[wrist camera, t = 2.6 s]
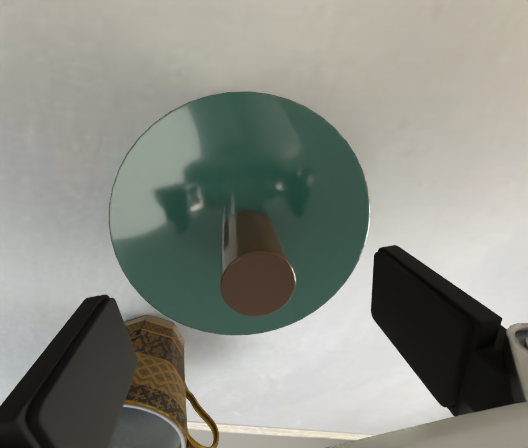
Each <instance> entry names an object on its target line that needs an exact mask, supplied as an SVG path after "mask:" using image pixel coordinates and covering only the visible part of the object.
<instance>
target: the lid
mask: <svg viewBox="0 0 528 448" xmlns="http://www.w3.org/2000/svg"><path fill="white" fill-rule="evenodd" d="M369 220H370V200H369V193H368V187H367V183H366V180H365V176H364V173H363V170H362V168H361V166H360V163H359V161H358V159H357V157H356V155H355V153H354V152H353V150H352V149H351V147H350V146H349V144H348V143H347V141H346V140H345V139H344V138H343V137H342V135H341V134H340V133H339V132H338V131H337V130H336V129H335V128H334V127H333V126H332V125H331V124H330V123H328V122H327V121H326V120H325V119H324V118H322V117H321V116H320V115H318V114H316V113H315V112H313V111H312V110H310V109H308V108H307V107H305V106H303V105H300V104H298V103H296V102H293V101H291V100H289V99H286V98H282V97H278V96H275V95H271V94H265V93H256V92H227V93H221V94H215V95H210V96H206V97H203V98H200V99H197V100H194V101H191V102H188V103H186V104H184V105H182V106H180V107H178V108H176V109H174V110H172V111H170V112H169V113H168V114H166V115H165V116H163V117H162V118H161V119H159V120H158V121H156V122H155V123H154V124H153V125H151V126H150V127H149V128H148V129H147V130H146V131H145V132H144V133H143V134H142V135H141V136H140V137H139V138H138V140H137V141H136V142H135V144H134V145H133V146H132V148H131V149H130V150H129V152H128V153H127V155H126V157H125V159H124V161H123V162H122V164H121V166H120V168H119V170H118V173H117V176H116V179H115V182H114V184H113V187H112V193H111V199H110V204H109V227H110V234H111V241H112V244H113V248H114V251H115V255H116V257H117V259H118V262H119V264H120V266H121V268H122V270H123V272H124V274H125V275H126V277H127V278H128V280H129V282H130V283H131V285H132V286H133V287H134V288H135V289H136V291H137V292H138V293H139V294H140V295H141V296H142V297H143V298H144V299H145V300H146V301H147V302H148V303H149V304H150V305H151V306H153V307H154V308H155V309H157V310H158V311H160V312H161V313H162V314H164V315H165V316H167V317H169V318H171V319H173V320H174V321H176V322H178V323H181V324H183V325H186V326H188V327H190V328H194V329H197V330H201V331H204V332H209V333H215V334H222V335H250V334H258V333H264V332H268V331H272V330H276V329H279V328H282V327H285V326H288V325H290V324H292V323H294V322H297V321H299V320H301V319H303V318H304V317H306V316H308V315H309V314H311V313H313V312H314V311H316V310H317V309H318V308H320V307H321V306H322V305H324V304H325V303H326V302H327V301H328V300H329V299H330V298H331V297H333V296H334V295H335V294H336V293H337V291H338V290H339V289H340V288H341V287H342V286H343V285H344V283H345V282H346V281H347V279H348V278H349V276H350V275H351V273H352V272H353V270H354V268H355V266H356V264H357V262H358V261H359V259H360V256H361V253H362V251H363V248H364V246H365V242H366V238H367V234H368V228H369Z"/></svg>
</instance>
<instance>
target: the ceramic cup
mask: <svg viewBox="0 0 528 448" xmlns="http://www.w3.org/2000/svg"><path fill="white" fill-rule="evenodd" d="M124 324H125V326H126V329H127V332H128V334H129V337H130V339H131V342H132V344H133V347H134V350H135V352H136V355H137V359H138V363H137V368H136V371H135V374H134V377H133V380H132V382H131V385H130V388H129V391H128V394H127V397H126V399H125V402H124V405H123V408H122V411H121V413H120V416H119V419H118V422H117V425H116V427H115V430H114V433H113V436H112V439H111V442H110V444H109V447H108V448H216V447H217V445H218V441H219V432H218V428H217V426H216V424H215V422H214V421H213V419H212V418H211V417H210V416H209V415H208V414H207V413H206V412H205V411H204V410H203V409H202V407H201V406H200V405H199V404H198V402H197V400H196V399H195V397H194V395H193V394H192V393H191V392H190V391H189V390H188V388H187V386H186V384H185V374H184V341H183V339H182V337H181V335H180V333H179V331H178V330H177V328H176V326H175V324H174V323H173V322H170V321H167V320H164V319H161V318H157V317H154V316H151V315H146V316H142V317H139V318H136V319H133V320H130V321H127V322H124ZM186 398H187V399H188V400H189V401H190V403H191V404H192V406H193V408H194V409H195V411H196V412H197V413H198V415H199V416H200V417H201V418H202V419H203V420H204V421H205V422H206V423H207V425H208V426H209V427H210V428H211V430H212V433H213V437H214V441H213V444H212V446H211V447H204V446H202V445H200V444H199V443H197V442H196V441H195V440H194V439H193V438H192V437H191V436H190V435H189V433H188V429H187V414H186Z"/></svg>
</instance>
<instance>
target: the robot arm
mask: <svg viewBox="0 0 528 448" xmlns="http://www.w3.org/2000/svg"><path fill="white" fill-rule="evenodd" d="M371 313H372V317H373V319H374V320H375V322H376V323H377V324H378V326H379V327H380V328H381V329H382V331H383V332H384V333H385V335H386V336H387V337H388V338H389V340H390V341H391V342H392V344H393V345H394V346H395V347H396V349H397V350H398V351H399V353H400V354H401V355H402V356H403V358H404V359H405V360H406V362H407V363H408V364H409V365H410V367H411V368H412V369H413V371H414V372H415V373H416V374H417V376H418V377H419V378H420V380H421V381H422V382H423V383H424V385H425V386H426V387H427V389H428V390H429V391H430V392H431V394H432V395H433V396H434V398H435V399H436V400H437V401H438V402H439V404H440V405H442V406H443V407H447V408H448V409H449V410H450V412H451V413H452V414H453V415H454V417H451V418H447V419H443V420H439V421H435V422H430V423H426V424H422V425H418V426H414V427H410V428H405V429H401V430H397V431H393V432H389V433H385V434H380V435H376V436H372V437H368V438H364V439H359V440H355V441H351V442H347V443H343V444H339V445H335V446H331V447H327V448H528V323H517V324H514V325H511V326H510V327H509V328H508V329H505V328H504V327H503V326H501V325H500V324H501V321H502V318H501V317H500V316H498V315H497V314H496V313H494V312H493V311H491V310H490V309H488V308H487V307H485V306H484V305H482V304H481V303H480V302H478V301H477V300H475V299H474V298H472V297H471V296H469V295H468V294H467V293H465V292H464V291H462V290H461V289H459V288H458V287H456V286H455V285H453V284H452V283H451V282H449V281H448V280H446V279H445V278H443V277H442V276H440V275H439V274H438V273H436V272H435V271H433V270H432V269H430V268H429V267H427V266H426V265H424V264H423V263H422V262H420V261H419V260H417V259H416V258H414V257H413V256H411V255H410V254H409V253H407V252H406V251H404V250H403V249H401V248H400V247H398V246H396V245H393V246H388V247H382V248H380V249H379V250H378V252H376V253H375V255H374V268H373V285H372V302H371ZM137 363H138V359H137V355H136V352H135V350H134V347H133V344H132V342H131V339H130V337H129V334H128V332H127V329H126V326H125V324H124V321H123V319H122V316H121V314H120V311H119V308H118V306H117V303H116V301H115V299H114V298H110V297H109V296H108V295H101V296H95V297H89V298H86V299H85V300H84V301H83V302H82V304H81V305H80V306H79V307H78V309H77V310H76V311H75V313H74V314H73V315H72V316H71V318H70V319H69V320H68V321H67V323H66V324H65V325H64V326H63V328H62V329H61V330H60V331H59V333H58V334H57V335H56V336H55V338H54V339H53V340H52V342H51V343H50V344H49V345H48V347H47V348H46V349H45V350H44V352H43V353H42V354H41V355H40V357H39V358H38V359H37V360H36V362H35V363H34V364H33V365H32V367H31V368H30V369H29V371H28V372H27V373H26V374H25V376H24V377H23V378H22V379H21V381H20V382H19V383H18V384H17V386H16V387H15V388H14V389H13V391H12V392H11V393H10V395H9V396H8V397H7V398H6V400H5V401H4V402H3V403H2V405H1V406H0V448H108V447H109V444H110V442H111V439H112V436H113V433H114V430H115V427H116V425H117V422H118V419H119V416H120V413H121V411H122V408H123V405H124V402H125V399H126V397H127V394H128V391H129V388H130V385H131V382H132V380H133V377H134V374H135V371H136V368H137Z"/></svg>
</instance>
